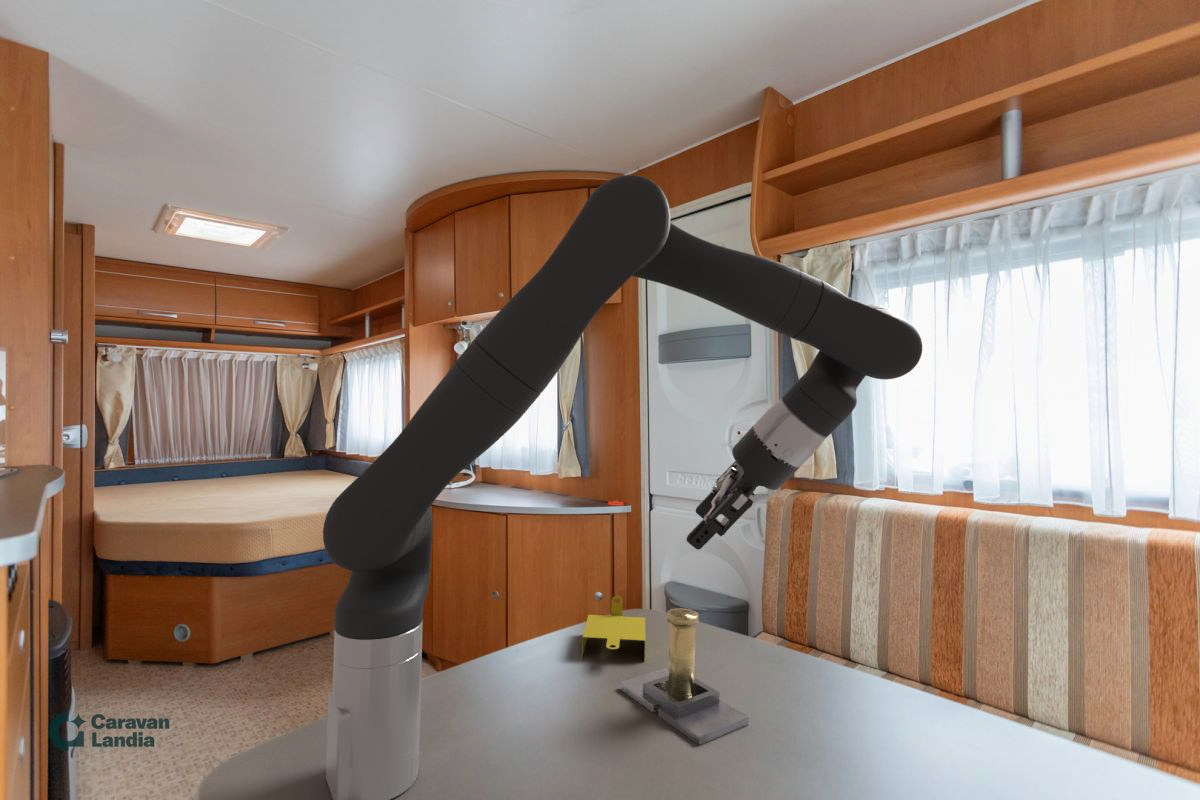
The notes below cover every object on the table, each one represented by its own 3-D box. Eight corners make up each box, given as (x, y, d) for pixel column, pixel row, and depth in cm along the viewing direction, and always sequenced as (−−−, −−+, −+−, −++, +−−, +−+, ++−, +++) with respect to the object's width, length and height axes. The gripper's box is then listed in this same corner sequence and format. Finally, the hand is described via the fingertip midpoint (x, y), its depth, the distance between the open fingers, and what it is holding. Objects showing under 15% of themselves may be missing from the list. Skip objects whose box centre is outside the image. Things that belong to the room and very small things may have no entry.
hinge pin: (679, 709, 79) (681, 621, 79) (658, 696, 83) (660, 611, 83) (703, 701, 82) (705, 615, 82) (681, 688, 85) (683, 606, 86)
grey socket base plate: (699, 745, 73) (699, 725, 73) (619, 688, 87) (619, 671, 87) (748, 724, 78) (748, 705, 78) (665, 674, 92) (665, 658, 92)
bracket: (564, 623, 93) (575, 593, 108) (563, 672, 93) (574, 635, 108) (661, 628, 92) (659, 597, 107) (660, 677, 92) (658, 640, 107)
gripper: (756, 409, 79) (682, 490, 85) (752, 442, 66) (665, 535, 72) (800, 444, 78) (723, 523, 84) (805, 484, 65) (712, 575, 71)
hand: (696, 529), depth 78 cm, fingers open, 8 cm apart
